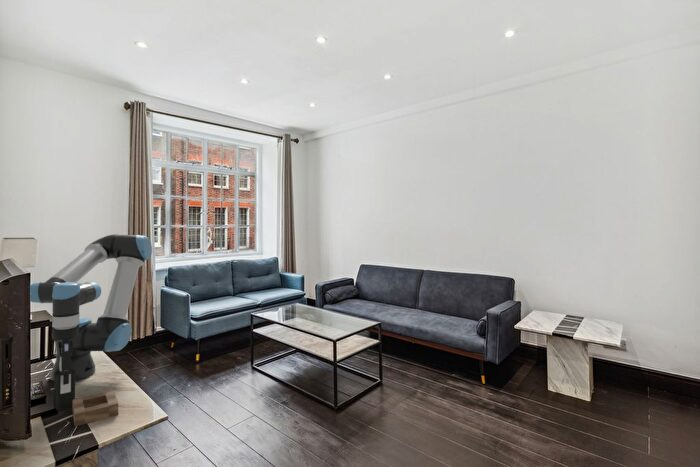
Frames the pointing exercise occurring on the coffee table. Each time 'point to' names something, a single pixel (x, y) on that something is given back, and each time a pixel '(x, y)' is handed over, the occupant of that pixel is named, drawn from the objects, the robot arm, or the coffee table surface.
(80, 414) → the block
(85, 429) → the coffee table surface
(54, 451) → the coffee table surface
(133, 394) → the coffee table surface
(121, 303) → the robot arm
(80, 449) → the coffee table surface
